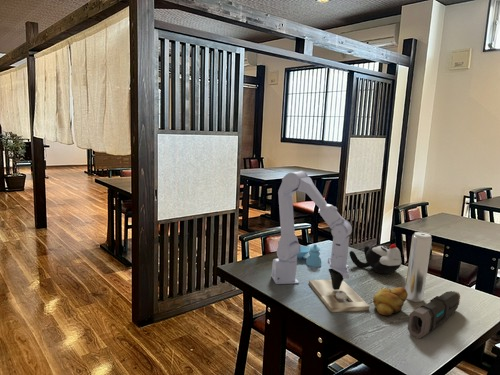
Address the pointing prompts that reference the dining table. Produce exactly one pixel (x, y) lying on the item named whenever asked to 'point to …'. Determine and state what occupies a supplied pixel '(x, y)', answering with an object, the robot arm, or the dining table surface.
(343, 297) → the steel ball
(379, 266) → the toy
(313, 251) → the light blue lumpy shape
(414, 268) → the silver cylinder
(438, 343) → the dining table surface
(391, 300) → the bread roll
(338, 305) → the ash board
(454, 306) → the tube
